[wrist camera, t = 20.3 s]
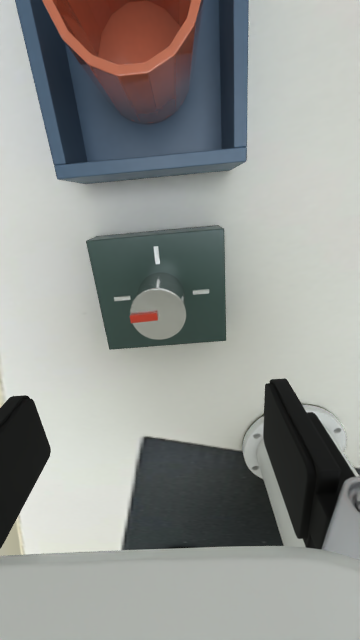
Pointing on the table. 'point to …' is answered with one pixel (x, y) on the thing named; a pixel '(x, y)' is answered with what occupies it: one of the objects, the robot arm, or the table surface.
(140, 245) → the green dial base
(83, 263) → the table surface
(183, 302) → the rotary dial knob
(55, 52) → the basin
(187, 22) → the cup
